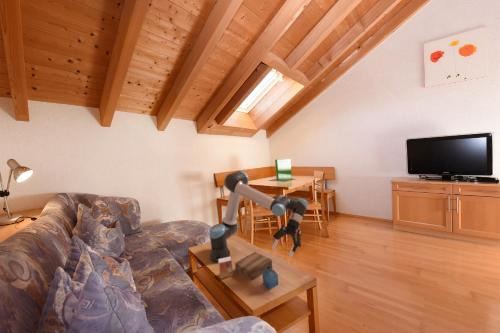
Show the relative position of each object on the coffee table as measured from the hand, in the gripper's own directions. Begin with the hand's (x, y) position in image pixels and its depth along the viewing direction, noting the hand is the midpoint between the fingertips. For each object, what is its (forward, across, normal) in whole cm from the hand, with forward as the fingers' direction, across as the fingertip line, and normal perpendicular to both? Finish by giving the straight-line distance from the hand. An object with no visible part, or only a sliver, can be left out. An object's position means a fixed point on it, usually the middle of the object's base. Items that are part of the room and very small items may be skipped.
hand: (281, 252), depth 133 cm
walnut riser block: (+16, +19, -6) cm, 25 cm away
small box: (+27, +28, +5) cm, 39 cm away
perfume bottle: (+18, 0, -3) cm, 19 cm away
